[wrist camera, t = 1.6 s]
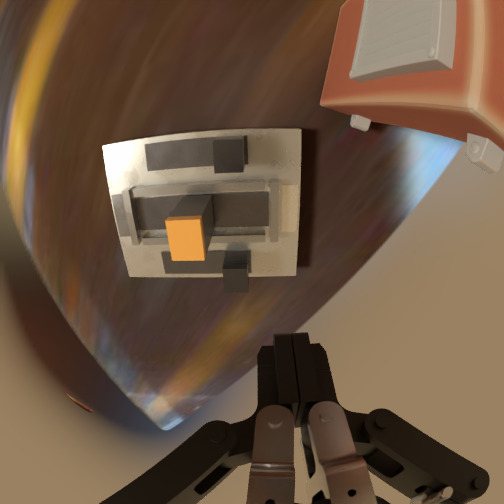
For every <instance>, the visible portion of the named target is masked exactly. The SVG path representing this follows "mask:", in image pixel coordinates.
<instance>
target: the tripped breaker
mask: <svg viewBox="0 0 504 504" xmlns="http://www.w3.org/2000/svg"><path fill="white" fill-rule="evenodd" d="M165 223H166V229H167V235H168V241H169V247H170V252H171V257H172V261H204V260H205V258H206V255H207V251H208V248H209V245H210V242H211V238H212V235H213V232H214V229H215V228H214V217H213V205H212V195H198V196H184V197H183V198H182V199H181V201H180V202H179V203H178V204H177V206H176V207H175V208H174V210H173V211H172V212H171V214H170V215H169V216H168V218H167V219H166V220H165Z"/></svg>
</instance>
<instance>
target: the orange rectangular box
mask: <svg viewBox="0 0 504 504" xmlns="http://www.w3.org/2000/svg"><path fill="white" fill-rule="evenodd" d="M320 105H321V106H323V107H326V108H329V109H333V110H336V111H339V112H342V113H345V114H348V115H351V116H352V117H351V123H350V124H351V126H352V127H354V128H357V129H360V130H363V131H367V130H368V129H369V126H370V123H371V121H372V122H378V123H385V124H391V125H396V126H401V127H407V128H412V129H416V130H421V131H425V132H430V133H434V134H438V135H442V136H446V137H449V138H453V139H456V140H460V141H463V142H467V145H466V156H467V157H468V159H469V160H470V161H471V162H472V163H474V164H475V165H477V166H478V167H480V168H481V169H483V170H484V171H486V172H487V173H489V174H490V173H497V172H498V170H499V168H500V165H501V163H502V161H503V158H504V0H347V1H346V2H345V3H344V4H343V5H342V6H341V8H340V13H339V18H338V23H337V28H336V33H335V38H334V42H333V47H332V52H331V56H330V61H329V65H328V70H327V74H326V79H325V83H324V87H323V92H322V96H321V100H320Z"/></svg>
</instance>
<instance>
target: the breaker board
mask: <svg viewBox="0 0 504 504" xmlns="http://www.w3.org/2000/svg"><path fill="white" fill-rule="evenodd" d="M103 153H104V160H105V167H106V174H107V180H108V186H109V191H110V197H111V202H112V207H113V212H114V216H115V221H116V226H117V230H118V234H119V238H120V242H121V246H122V250H123V254H124V258H125V262H126V265H127V269H128V272H129V276H130V277H223V282H224V292H248V285H249V277H257V276H296V266H297V250H298V232H299V211H300V183H301V129H300V128H233V129H215V130H202V131H191V132H181V133H172V134H164V135H157V136H150V137H143V138H137V139H131V140H125V141H120V142H115V143H110V144H107V145H104V146H103ZM198 195H212V205H213V217H214V228H215V229H214V232H213V235H212V238H211V242H210V245H209V248H208V251H207V255H206V258H205V260H204V261H172V257H171V252H170V247H169V241H168V235H167V229H166V223H165V220H166V219H167V218H168V216H169V215H170V214H171V212H172V211H173V210H174V208H175V207H176V206H177V204H178V203H179V202H180V201H181V199H182V198H183V197H184V196H198Z"/></svg>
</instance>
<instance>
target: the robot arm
mask: <svg viewBox="0 0 504 504" xmlns="http://www.w3.org/2000/svg"><path fill="white" fill-rule="evenodd" d="M257 360H258V406H257V409H256V411H255V413H254V414H253V415H252V416H251V417H249V418H248V419H246V420H243V421H240V422H237V423H233V424H229V423H227V422H225V421H218V420H216V421H211V422H208V423H206V424H205V425H203V426H202V427H201V428H200V429H199V430H198V431H197V432H195V433H194V434H193V435H192V436H191V437H189V438H188V439H187V440H186V441H185V442H184V443H182V444H181V445H180V446H179V447H177V448H176V449H175V450H174V451H173V452H171V453H170V454H169V455H167V456H166V457H165V458H164V459H162V460H161V461H160V462H158V463H157V464H156V465H155V466H153V467H152V468H151V469H149V470H148V471H146V472H145V473H144V474H143V475H141V476H140V477H138V478H137V479H135V480H134V481H133V482H131V483H130V484H128V485H127V486H125V487H124V488H122V489H121V490H119V491H118V492H116V493H115V494H113V495H112V496H110V497H109V498H107V499H106V500H104V501H102V502H101V503H99V504H196V503H198V502H199V501H200V500H201V499H203V498H204V497H205V496H206V495H207V494H208V493H210V492H211V491H212V490H213V489H214V488H215V487H216V486H218V485H219V484H220V483H221V482H222V481H223V480H224V479H225V478H226V477H227V476H228V475H229V474H230V473H231V472H233V471H234V470H235V469H236V468H237V467H238V466H240V465H244V464H247V463H251V462H252V464H251V468H250V475H249V484H248V493H247V502H246V504H298V503H294V493H295V469H294V425H295V427H301V434H302V437H301V440H300V444H301V449H302V455H303V460H304V465H305V471H306V476H307V495H308V501H309V504H390V503H389V502H387V501H385V500H384V499H382V498H380V497H378V496H375V494H374V490H373V486H372V483H371V479H370V475H369V472H368V470H369V471H370V472H371V473H373V474H374V475H376V476H377V477H378V478H380V479H381V480H383V481H384V482H386V483H387V484H389V485H390V486H392V487H393V488H395V489H396V490H398V491H399V492H401V493H403V494H404V495H406V496H407V497H409V498H410V499H411V501H410V504H467V503H468V502H469V501H472V500H474V499H476V498H478V497H480V496H482V495H483V494H484V493H485V492H486V490H487V488H488V486H489V475H488V473H487V471H485V470H484V469H483V468H481V467H479V466H477V465H476V464H474V463H472V462H470V461H469V460H467V459H465V458H464V457H462V456H460V455H458V454H457V453H455V452H453V451H452V450H450V449H448V448H447V447H445V446H444V445H442V444H440V443H439V442H437V441H436V440H434V439H432V438H431V437H429V436H428V435H426V434H424V433H423V432H422V431H420V430H418V429H417V428H415V427H414V426H412V425H411V424H409V423H408V422H406V421H405V420H403V419H402V418H400V417H399V416H397V415H396V414H394V413H393V412H391V411H390V410H387V409H376V410H373V411H372V412H370V413H369V414H363V413H356V412H351V411H348V410H346V409H344V408H343V407H342V406H341V405H340V404H339V402H338V400H337V397H336V393H335V388H334V384H333V379H332V375H331V371H330V367H329V363H328V358H327V354H326V351H325V350H324V348H323V347H322V346H321V345H320V343H317V344H310V341H309V336H308V333H291V335H290V333H286V334H274V336H273V346H262V347H261V349H260V351H259V353H258V355H257Z"/></svg>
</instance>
